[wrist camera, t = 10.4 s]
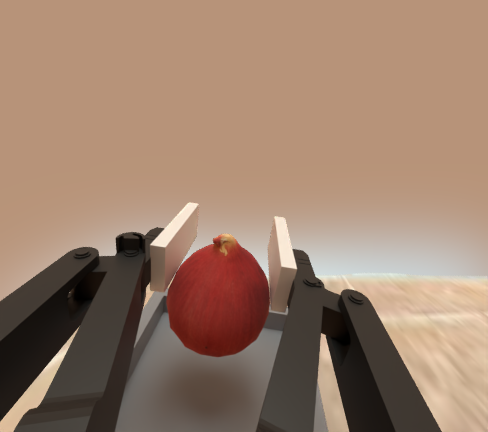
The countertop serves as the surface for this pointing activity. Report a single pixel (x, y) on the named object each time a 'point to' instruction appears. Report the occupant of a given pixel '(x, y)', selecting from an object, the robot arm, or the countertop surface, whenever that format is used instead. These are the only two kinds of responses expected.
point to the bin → (198, 380)
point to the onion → (218, 299)
